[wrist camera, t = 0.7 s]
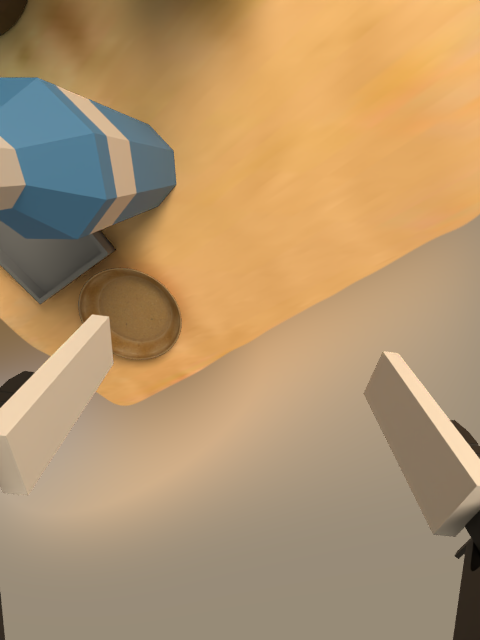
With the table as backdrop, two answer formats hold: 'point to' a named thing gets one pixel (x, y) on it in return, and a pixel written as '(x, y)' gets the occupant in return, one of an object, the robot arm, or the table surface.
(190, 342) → the table surface
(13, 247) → the tray
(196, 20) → the table surface
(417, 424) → the robot arm
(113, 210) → the water bottle
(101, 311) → the plant saucer
